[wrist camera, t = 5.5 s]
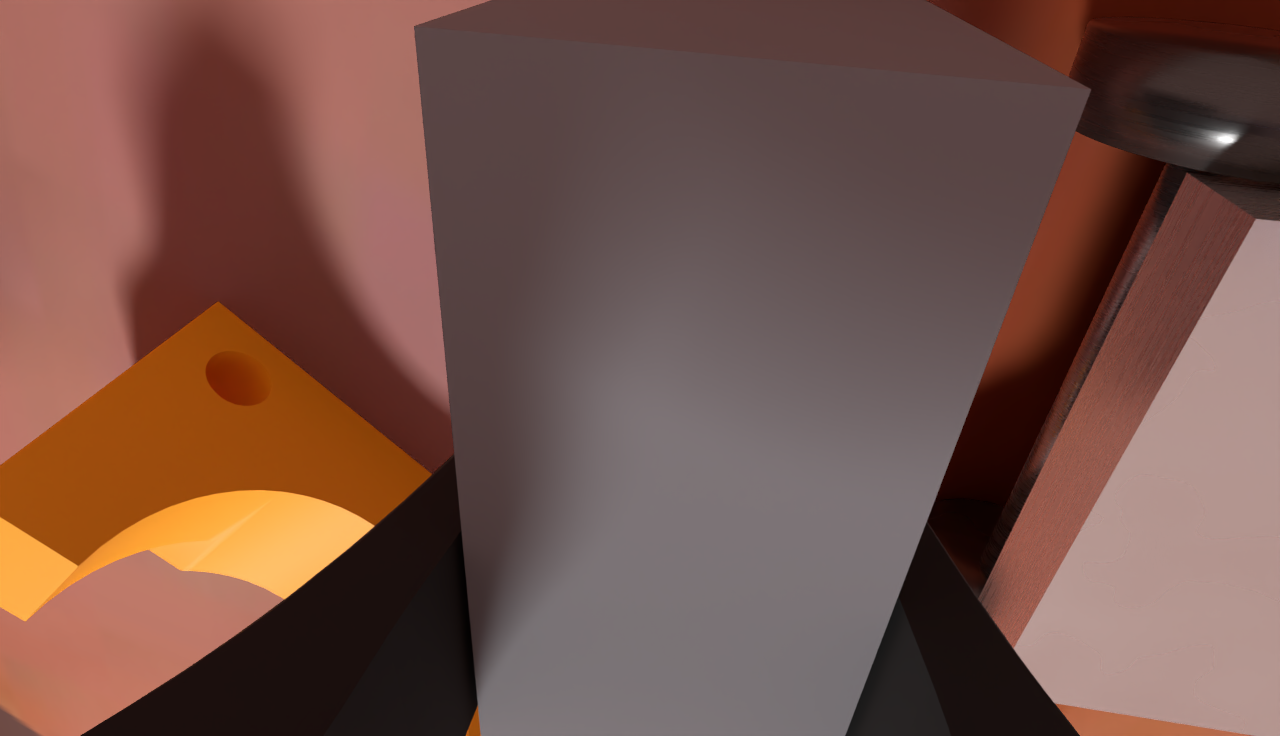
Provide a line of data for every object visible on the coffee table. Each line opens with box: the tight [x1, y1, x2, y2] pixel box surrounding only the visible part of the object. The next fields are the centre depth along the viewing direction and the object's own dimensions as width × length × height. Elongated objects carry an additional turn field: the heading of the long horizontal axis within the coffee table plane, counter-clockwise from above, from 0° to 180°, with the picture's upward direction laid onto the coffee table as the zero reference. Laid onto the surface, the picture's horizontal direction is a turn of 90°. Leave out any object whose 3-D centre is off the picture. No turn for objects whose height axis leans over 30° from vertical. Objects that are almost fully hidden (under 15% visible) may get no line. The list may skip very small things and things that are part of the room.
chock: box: [414, 0, 1091, 736], centre depth 9 cm, size 4×11×5 cm, turn 177°
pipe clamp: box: [0, 302, 481, 736], centre depth 17 cm, size 12×4×6 cm, turn 43°
